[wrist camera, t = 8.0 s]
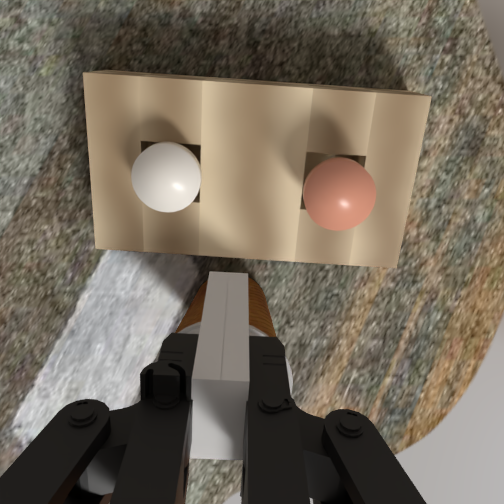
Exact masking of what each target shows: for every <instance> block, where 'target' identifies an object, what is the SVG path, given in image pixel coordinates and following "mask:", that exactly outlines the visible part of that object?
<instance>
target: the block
mask: <svg viewBox="0 0 504 504" xmlns="http://www.w3.org/2000/svg"><path fill="white" fill-rule="evenodd" d="M83 82H84V96H85V110H86V123H87V137H88V151H89V165H90V178H91V192H92V206H93V219H94V233H95V247H96V249H107V250H123V251H138V252H154V253H169V254H185V255H200V256H216V257H231V258H247V259H262V260H278V261H293V262H309V263H324V264H339V265H355V266H370V267H386V268H397V263H398V258H399V253H400V249H401V244H402V239H403V234H404V229H405V224H406V219H407V214H408V209H409V204H410V200H411V195H412V190H413V185H414V180H415V175H416V170H417V165H418V160H419V156H420V151H421V146H422V141H423V136H424V131H425V126H426V121H427V116H428V111H429V107H430V102H431V97H432V96H428V95H424V94H420V93H416V92H412V91H407V90H392V89H378V88H363V87H349V86H334V85H319V84H305V83H290V82H276V81H261V80H247V79H232V78H218V77H203V76H189V75H174V74H159V73H145V72H130V71H116V70H101V71H92V72H83ZM159 142H174V143H178V144H180V145H182V146H184V147H186V148H187V149H189V150H190V151H191V152H192V153H193V154H194V155H195V157H196V158H197V160H198V162H199V164H200V167H201V171H202V182H201V186H200V189H199V191H198V194H197V196H196V197H195V199H194V200H193V202H192V203H191V204H190V205H188V206H187V207H185V208H184V209H182V210H179V211H176V212H161V211H157V210H154V209H152V208H150V207H148V206H147V205H146V204H144V203H143V202H142V201H141V200H140V199H139V197H138V196H137V194H136V193H135V191H134V188H133V185H132V180H131V172H132V167H133V164H134V162H135V160H136V159H137V157H138V156H139V155H140V154H141V153H142V152H143V151H144V150H146V149H147V148H148V147H150V146H151V145H153V144H155V143H159ZM337 157H342V158H348V159H351V160H354V161H356V162H358V163H359V164H360V165H362V166H363V167H364V168H365V170H366V171H367V172H368V173H369V174H370V175H371V177H372V179H373V181H374V183H375V187H376V201H375V205H374V207H373V209H372V211H371V213H370V214H369V216H368V217H367V218H366V219H365V220H364V221H363V222H362V223H360V224H359V225H357V226H355V227H353V228H350V229H347V230H341V231H334V230H329V229H326V228H323V227H321V226H319V225H318V224H317V223H315V222H314V221H313V220H312V219H311V217H310V216H309V214H308V212H307V210H306V207H305V204H304V200H303V186H304V183H305V180H306V178H307V176H308V174H309V173H310V172H311V170H312V169H313V168H314V167H315V166H317V165H318V164H319V163H321V162H323V161H325V160H328V159H331V158H337Z"/></svg>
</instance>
